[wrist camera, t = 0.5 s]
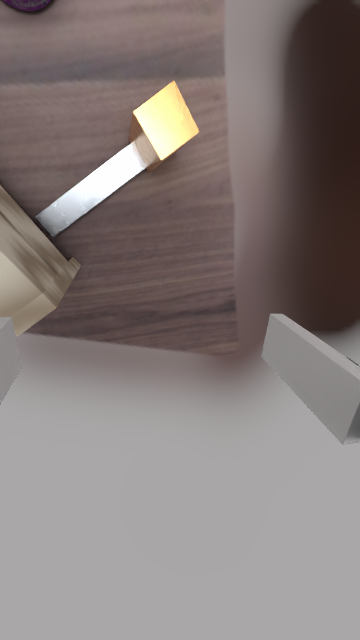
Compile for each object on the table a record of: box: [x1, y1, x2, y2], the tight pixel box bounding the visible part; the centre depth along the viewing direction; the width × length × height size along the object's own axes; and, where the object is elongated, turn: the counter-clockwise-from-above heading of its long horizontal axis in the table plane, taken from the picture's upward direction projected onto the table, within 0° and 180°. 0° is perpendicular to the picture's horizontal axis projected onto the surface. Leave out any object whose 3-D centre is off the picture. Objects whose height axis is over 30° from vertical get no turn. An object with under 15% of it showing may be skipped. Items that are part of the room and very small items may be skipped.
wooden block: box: [35, 81, 199, 237], centre depth 28 cm, size 4×18×11 cm, turn 124°
